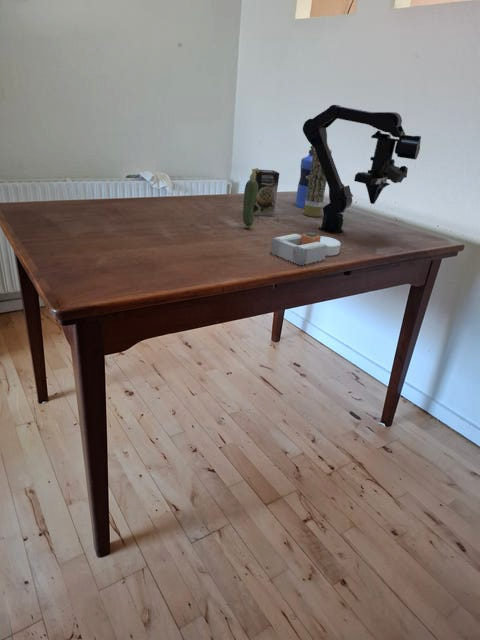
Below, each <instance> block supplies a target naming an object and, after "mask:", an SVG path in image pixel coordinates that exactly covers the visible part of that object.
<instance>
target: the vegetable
mask: <svg viewBox="0 0 480 640" xmlns="http://www.w3.org/2000/svg"><path fill="white" fill-rule="evenodd" d="M253 169H254V171H253V172H252V171H251V174H250V176H249V180H247V182H246V184H245V187H244V191H243V192H244V193H243V194H244V195H243V207H242V220H243V224H244V226H246V228H247V229H251V227H252V226H253V224H254V215H253V208H254V202H255V200H256V196H257V192H258V183H257V181H256V180H255V179H256V172H259V170H260V169H259V168H258V167H257V168H256V167H255V168H253Z"/></svg>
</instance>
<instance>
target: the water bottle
mask: <svg viewBox="0 0 480 640" xmlns="http://www.w3.org/2000/svg"><path fill="white" fill-rule="evenodd" d="M313 150H314V147H313V146H312V145H310V149H308V155H307V156H305V157H303V158H301V161H300V177H299V181H298V184H297V189H296V190H297V191H296V197H295V204H294V206H296V207H297V208H301V209H304V208H305V201H306V195H307V189H308V182H309V176H310V169H311V163H312V157H313Z"/></svg>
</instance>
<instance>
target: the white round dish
mask: <svg viewBox="0 0 480 640" xmlns="http://www.w3.org/2000/svg"><path fill="white" fill-rule="evenodd" d="M320 236H321V235H320ZM320 243H323V244H325V245H327V248H326V254H325V257H333V256H337V255H338V254H339V253H340V250H341V241H339V240H338V239H335V238H333V237H329V236H323V235H322V236H321V238H320Z"/></svg>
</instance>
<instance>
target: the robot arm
mask: <svg viewBox="0 0 480 640" xmlns="http://www.w3.org/2000/svg"><path fill="white" fill-rule="evenodd" d="M337 120H343V121H347V122H354V123H357V124H358V123H359V124H363V125H367V126H371V127H372V128H374V129H377V130H376V132H374V133H373V134H372V135H371V137H370V138H371V139H377V140H376V144H375V149H374V153H373V156H371V157H370V161H372V162H371V163H372V164H371V168H370V169H367V171H366V172H365V171H361V172H360V171H359V172H357V173H355V175H354V179H353V181H354V182H355V183H356V182H357V183H362V184H365V187H366V191H367V193H368V197H369V202H370V204H372V205H374V204H376V201H377V200H378V199H379V196H380V194H381V193H382V191H383V190H384V188H386V187H388V186H390V185H391V183H389V182H388V180H389V181H390V182H392V183H393V184H398V183H402V181H403V180H404V179H405V178H407V176H408V175H407V174H408V169H409V168H408V167H407V166H405V165H401V166H400V167H399V166H396V165H395V159H393V155H394V153H395V155H396V156H397V157H398V158H401V159H409V160H417V158H418V156H419V153H420V150H421V139H422V136H420V135H407V134H406V133H405V130H404V129H403V126H402V124H403V122H402V121H403V119H402V116H401V115H400V114H399V113H398V112H394V111H393V112H392V111H386V112H385V111H384V112H383V111H376V112H375V111H367V110H363V109H357V108H356V109H355V108H352V107H351V108H350V107H345V106H342V105H340V104H332V105H329V107H328V108H326V109H325V110H324V111H322V112H321V113H319V114H317V115H316V116H315V117H313V118H309V119H306V120H305V122H304V123H303V126H302V132H303V135H304V136H305V138H306V140H307V142H308V143H310V146H313V147H314V149H315V151H316V154H317V157H318V159H319V162H320V165H321V167H322V170H323V173H324V175H325V178H326V181H327V182H326V185H327V186H328V198H329V199H328V200H329V203H328V204H326V205H325V206H322V213H323V215H322V216H323V217H322V222H321V226H319V227H318V228H317V229H318V230H322V231H324V232H328V233H329V234H335V233H336V234H337V233H341V232H344V230H343V229H342V228H343V224H344V219H343V217H344V214H343V213H344V212H345V211H346V210H347V209H348V208H350V207H351V205H352V203H353V197H354V194H352V192H351V188H350V185H346V186H345V185H344V184H343V182H342V180H341V178H340V175H339V172H338V169H337V165H336V164H335V161H334V159H333V155H332V153H330V150H331V149H330V148H329V145H328V133H327V129H328V128H329V127H330V126H331V125H332V124H333V123H335V121H337ZM382 132H383V133H382ZM329 149H330V150H329Z"/></svg>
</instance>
